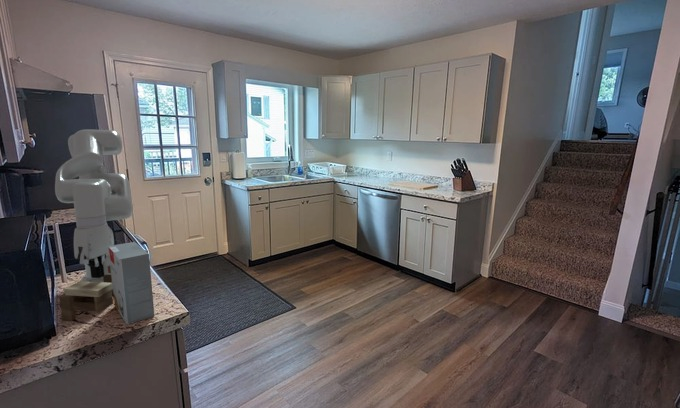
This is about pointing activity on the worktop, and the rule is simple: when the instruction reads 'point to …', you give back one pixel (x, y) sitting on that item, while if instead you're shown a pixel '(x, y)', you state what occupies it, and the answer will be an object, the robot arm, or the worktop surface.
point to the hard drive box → (131, 281)
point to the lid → (88, 289)
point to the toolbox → (85, 302)
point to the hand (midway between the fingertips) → (97, 276)
